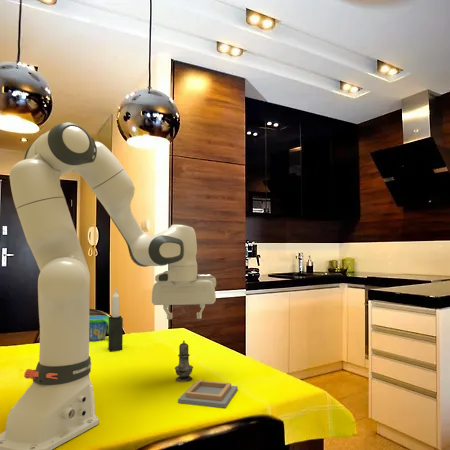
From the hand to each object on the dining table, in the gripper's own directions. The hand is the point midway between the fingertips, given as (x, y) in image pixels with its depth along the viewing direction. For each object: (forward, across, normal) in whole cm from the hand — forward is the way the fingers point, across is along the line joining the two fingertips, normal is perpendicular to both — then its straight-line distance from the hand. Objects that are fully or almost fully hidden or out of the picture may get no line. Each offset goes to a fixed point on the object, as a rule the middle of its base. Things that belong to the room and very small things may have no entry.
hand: (184, 318), depth 119 cm
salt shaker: (+19, 0, 0) cm, 19 cm away
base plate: (+19, -9, +14) cm, 25 cm away
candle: (+19, +34, -35) cm, 52 cm away
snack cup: (+19, +49, -52) cm, 74 cm away
